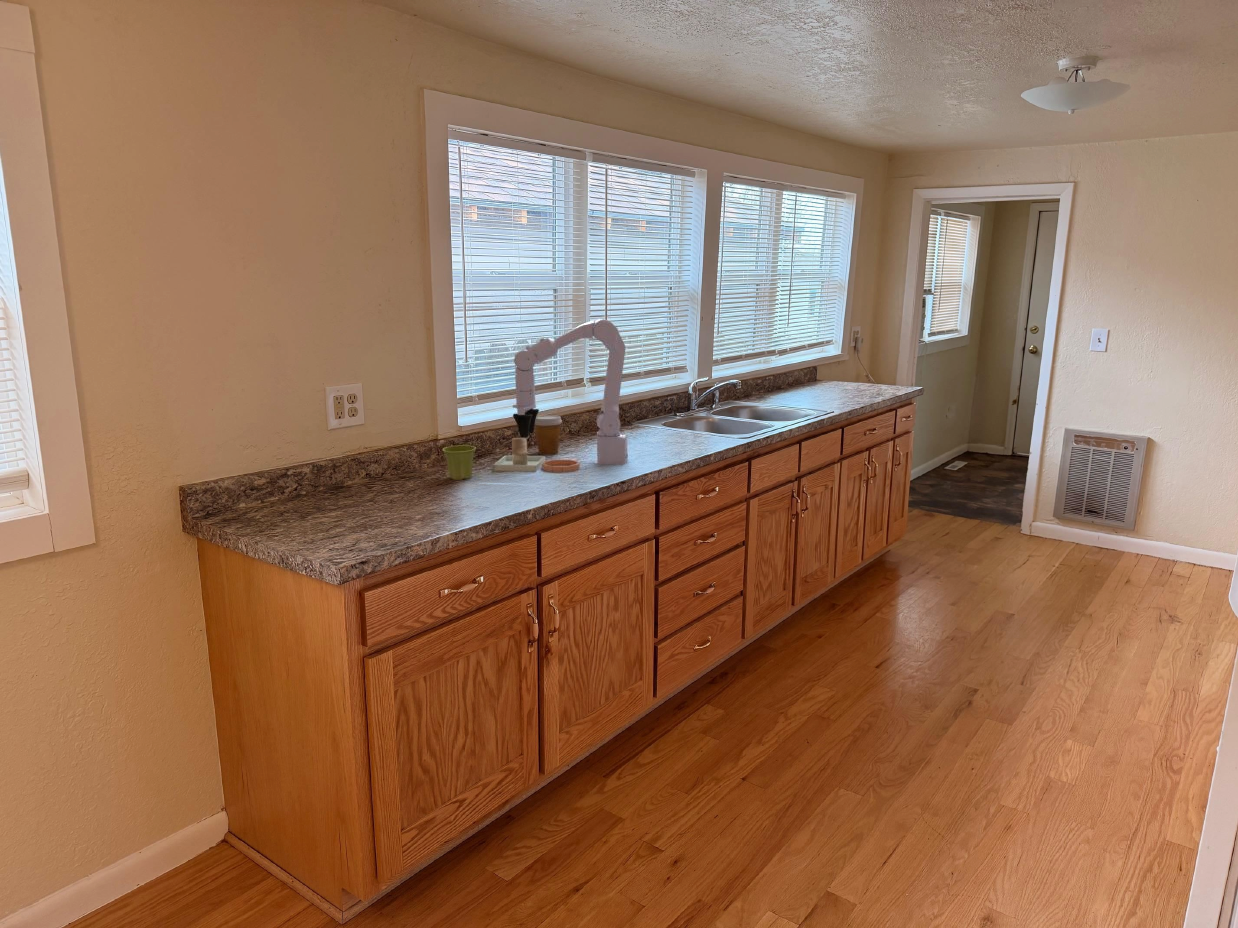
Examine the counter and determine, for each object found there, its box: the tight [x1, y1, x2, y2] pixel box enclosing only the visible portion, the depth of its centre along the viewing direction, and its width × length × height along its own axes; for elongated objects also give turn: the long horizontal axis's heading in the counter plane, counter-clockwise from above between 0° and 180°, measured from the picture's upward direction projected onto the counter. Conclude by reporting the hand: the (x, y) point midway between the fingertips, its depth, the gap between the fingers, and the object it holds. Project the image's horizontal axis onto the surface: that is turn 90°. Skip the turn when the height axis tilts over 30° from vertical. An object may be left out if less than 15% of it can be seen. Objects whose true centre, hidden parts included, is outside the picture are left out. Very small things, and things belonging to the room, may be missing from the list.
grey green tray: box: [492, 455, 547, 472], centre depth 259 cm, size 13×14×2 cm
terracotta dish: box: [541, 458, 581, 473], centre depth 256 cm, size 11×11×2 cm
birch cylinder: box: [511, 437, 528, 465], centre depth 258 cm, size 4×4×8 cm
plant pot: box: [442, 444, 477, 481], centre depth 246 cm, size 9×9×9 cm
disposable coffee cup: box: [534, 414, 563, 456], centre depth 280 cm, size 10×10×12 cm
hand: (527, 435), depth 259 cm, fingers open, 7 cm apart
